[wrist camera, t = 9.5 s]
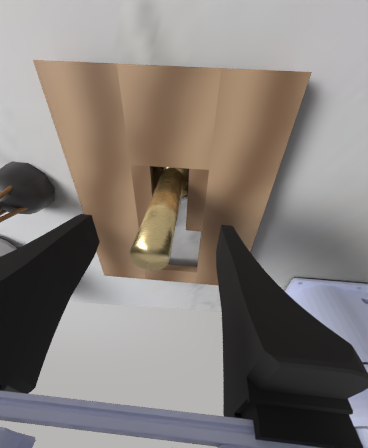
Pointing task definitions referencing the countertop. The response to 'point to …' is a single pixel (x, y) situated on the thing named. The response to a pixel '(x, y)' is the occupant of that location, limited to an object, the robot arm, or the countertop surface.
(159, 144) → the keyhole plate
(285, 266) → the countertop surface
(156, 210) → the peg
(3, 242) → the can
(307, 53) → the countertop surface
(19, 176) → the wooden tabletop sculpture
